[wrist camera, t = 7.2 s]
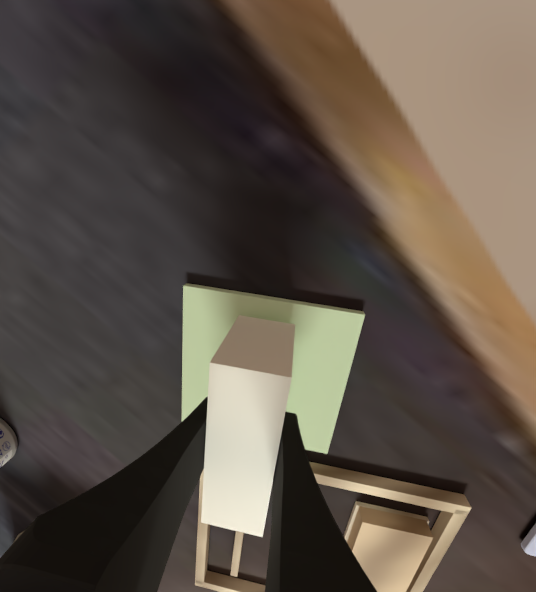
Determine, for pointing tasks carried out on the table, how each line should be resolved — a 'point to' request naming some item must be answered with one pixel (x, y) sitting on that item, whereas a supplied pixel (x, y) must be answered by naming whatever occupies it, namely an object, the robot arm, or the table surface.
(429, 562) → the rack
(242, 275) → the table surface
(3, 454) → the energy drink
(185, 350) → the mat
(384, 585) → the offcut upper
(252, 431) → the tall cream block
